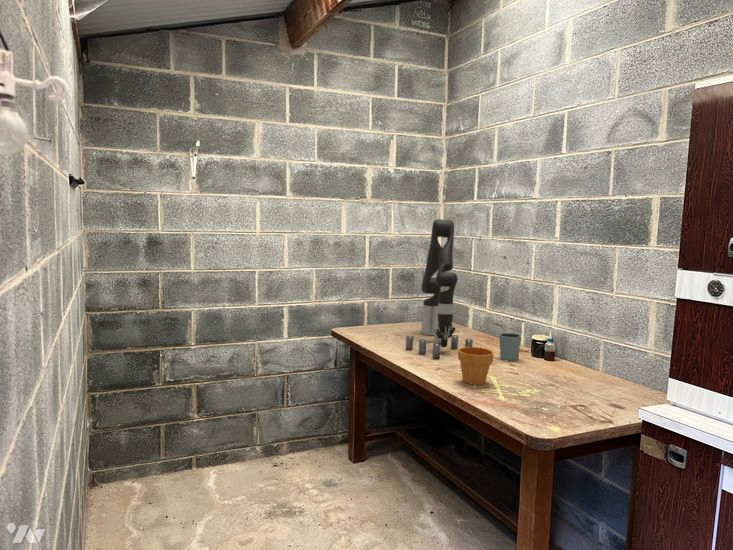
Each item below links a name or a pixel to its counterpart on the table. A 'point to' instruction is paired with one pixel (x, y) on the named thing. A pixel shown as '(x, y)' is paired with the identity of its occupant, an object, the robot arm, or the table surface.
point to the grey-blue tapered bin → (509, 346)
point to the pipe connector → (434, 339)
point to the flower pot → (475, 364)
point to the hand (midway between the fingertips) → (444, 346)
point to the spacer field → (435, 345)
